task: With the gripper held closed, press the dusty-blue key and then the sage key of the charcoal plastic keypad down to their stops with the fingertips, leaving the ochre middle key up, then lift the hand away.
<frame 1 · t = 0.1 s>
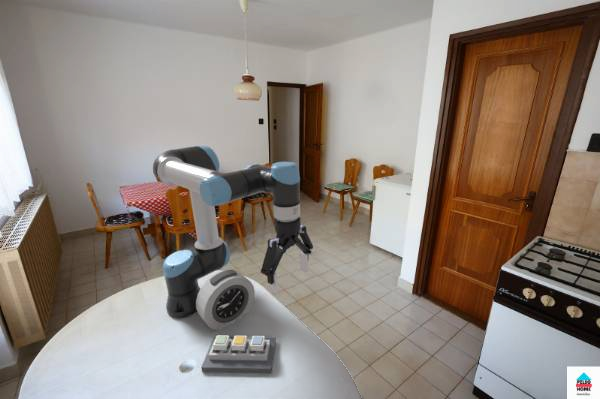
hand: (289, 280, 86), 28 cm above the table, fingers open, 13 cm apart
keypad: (241, 356, 93), on the table
alarm clock: (228, 316, 111), on the table
key ochre: (239, 342, 92), point 6 cm above the table, slide at 0.0 cm
key sage: (221, 342, 92), point 6 cm above the table, slide at 0.0 cm
key blue: (257, 342, 91), point 6 cm above the table, slide at 0.0 cm
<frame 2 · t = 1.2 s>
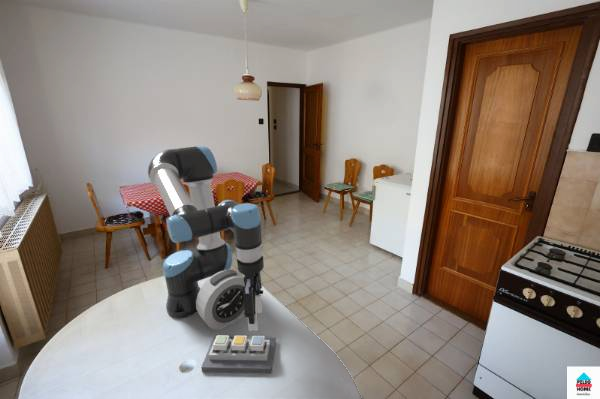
hand: (255, 320, 88), 15 cm above the table, fingers open, 7 cm apart
nothing on the table moved.
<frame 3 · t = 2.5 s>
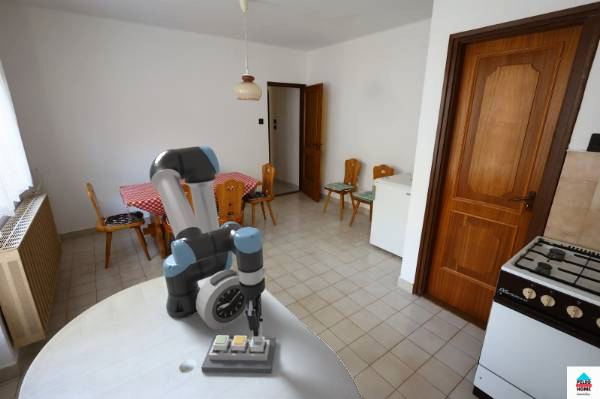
hand: (257, 340, 91), 7 cm above the table, fingers closed
key blue: (257, 343, 91), point 6 cm above the table, slide at 0.3 cm, touching gripper
everything else where it was.
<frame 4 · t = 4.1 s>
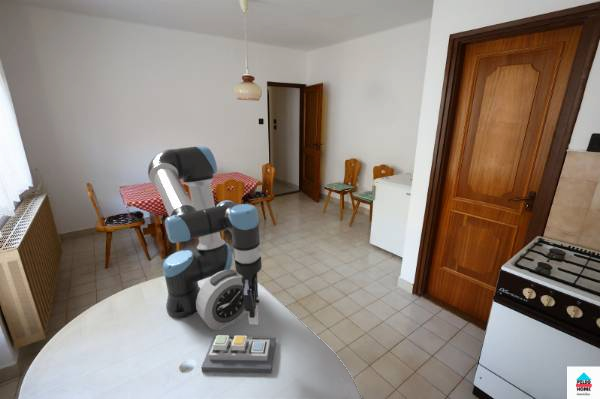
hand: (253, 322, 89), 14 cm above the table, fingers closed
key blue: (258, 348, 92), point 3 cm above the table, slide at 2.5 cm
everything else where it was.
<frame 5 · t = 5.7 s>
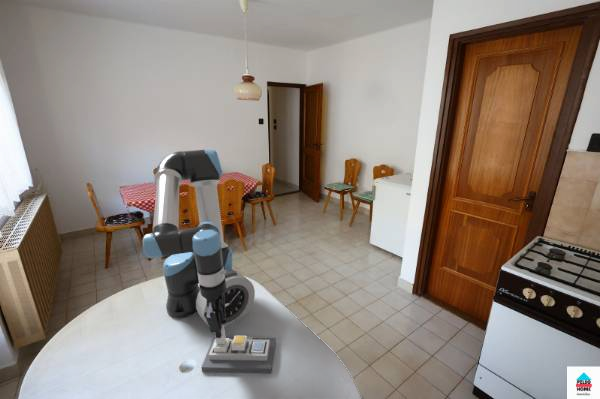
hand: (221, 342, 92), 6 cm above the table, fingers closed
key sage: (221, 344, 92), point 5 cm above the table, slide at 1.1 cm, touching gripper
everything else where it was.
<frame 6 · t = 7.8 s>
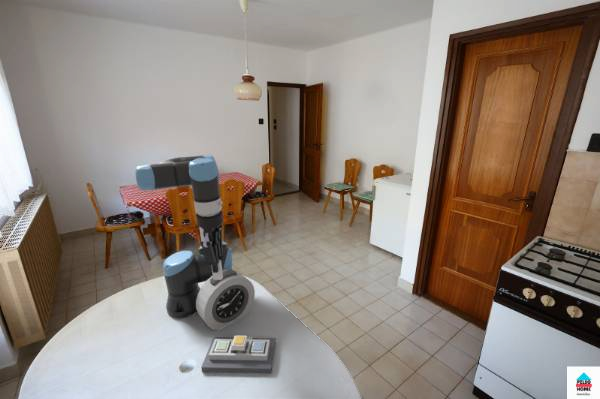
hand: (218, 278, 91), 26 cm above the table, fingers closed
key sage: (222, 348, 93), point 3 cm above the table, slide at 2.5 cm
everything else where it was.
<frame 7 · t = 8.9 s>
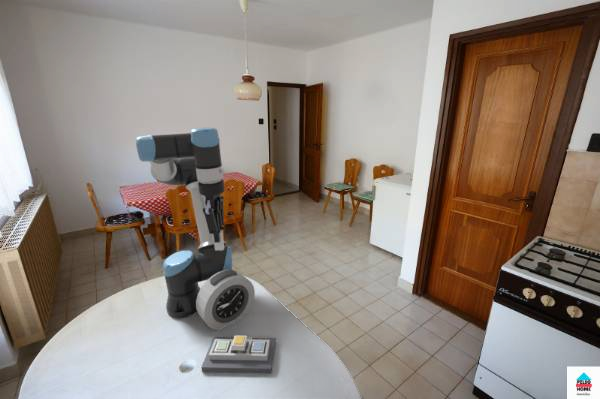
hand: (219, 249, 93), 34 cm above the table, fingers closed
nothing on the table moved.
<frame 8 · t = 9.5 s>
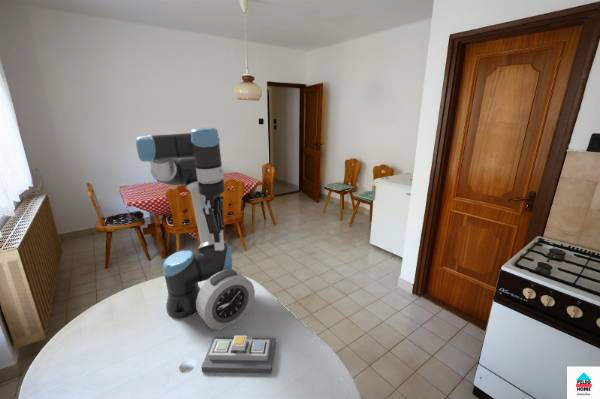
hand: (219, 249, 93), 34 cm above the table, fingers closed
nothing on the table moved.
at the end: key blue slide at 2.5 cm; key sage slide at 2.5 cm; key ochre slide at 0.0 cm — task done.
